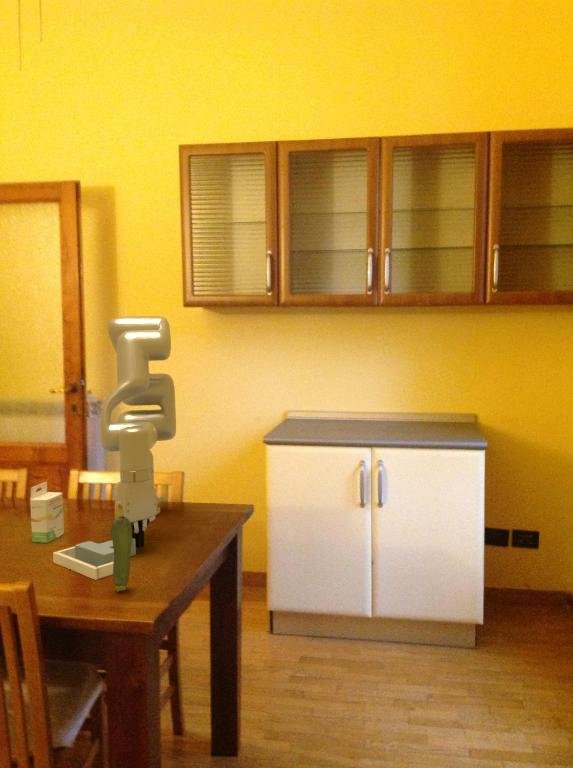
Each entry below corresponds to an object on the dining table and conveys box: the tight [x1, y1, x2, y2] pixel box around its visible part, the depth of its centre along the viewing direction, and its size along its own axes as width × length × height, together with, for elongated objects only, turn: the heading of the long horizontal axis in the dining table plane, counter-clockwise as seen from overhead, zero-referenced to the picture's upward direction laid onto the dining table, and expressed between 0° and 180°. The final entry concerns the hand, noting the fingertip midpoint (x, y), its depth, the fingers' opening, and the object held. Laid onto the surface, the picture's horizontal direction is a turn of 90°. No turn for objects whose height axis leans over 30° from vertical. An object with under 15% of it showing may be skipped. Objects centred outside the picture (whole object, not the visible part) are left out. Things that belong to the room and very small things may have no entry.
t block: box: [75, 538, 137, 567], centre depth 170 cm, size 12×12×4 cm
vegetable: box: [110, 501, 132, 593], centre depth 149 cm, size 4×4×20 cm
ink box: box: [29, 481, 65, 544], centre depth 187 cm, size 9×5×15 cm, turn 168°
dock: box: [52, 546, 114, 581], centre depth 165 cm, size 7×18×2 cm, turn 49°
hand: (138, 546), depth 176 cm, fingers closed
